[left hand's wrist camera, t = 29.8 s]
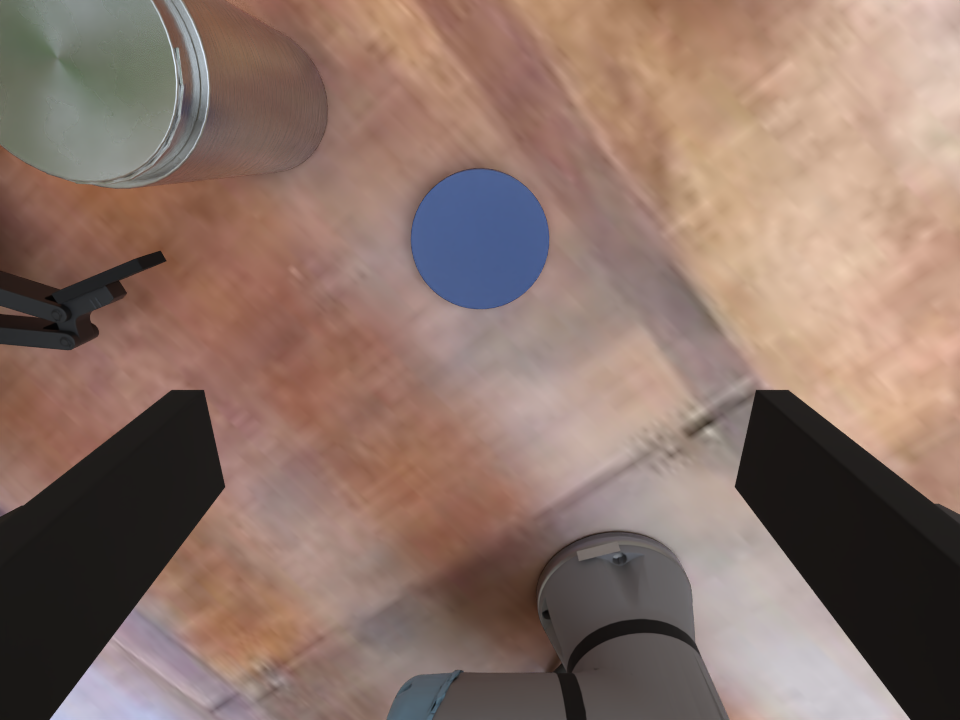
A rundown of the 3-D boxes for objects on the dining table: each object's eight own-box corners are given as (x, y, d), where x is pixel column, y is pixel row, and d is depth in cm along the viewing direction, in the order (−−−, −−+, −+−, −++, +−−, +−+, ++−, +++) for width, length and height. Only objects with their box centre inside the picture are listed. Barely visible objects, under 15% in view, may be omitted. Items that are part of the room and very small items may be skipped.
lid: (522, 147, 38) (524, 146, 36) (562, 277, 41) (566, 283, 40) (393, 197, 39) (388, 199, 37) (442, 319, 43) (441, 326, 41)
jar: (204, 168, 38) (-33, 185, 21) (184, 20, 35) (-121, -112, 17) (331, 176, 39) (204, 198, 21) (323, 29, 35) (164, -93, 17)
